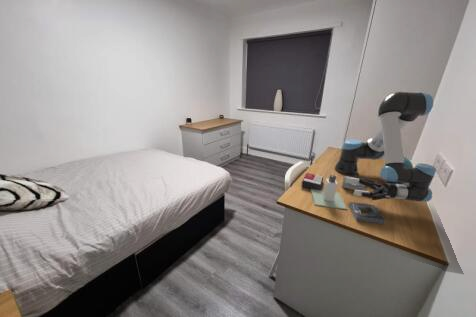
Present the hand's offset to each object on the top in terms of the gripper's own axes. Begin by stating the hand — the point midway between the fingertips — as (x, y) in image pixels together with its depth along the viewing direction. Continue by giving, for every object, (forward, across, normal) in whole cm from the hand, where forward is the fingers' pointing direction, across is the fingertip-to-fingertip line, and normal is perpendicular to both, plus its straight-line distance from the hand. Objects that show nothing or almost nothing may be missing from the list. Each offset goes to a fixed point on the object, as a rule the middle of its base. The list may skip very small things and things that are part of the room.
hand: (350, 185), depth 106 cm
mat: (+10, 0, -10) cm, 14 cm away
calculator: (+16, +16, -10) cm, 24 cm away
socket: (-6, -10, -10) cm, 16 cm away
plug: (+10, 0, -10) cm, 14 cm away
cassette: (-8, +16, -10) cm, 21 cm away
